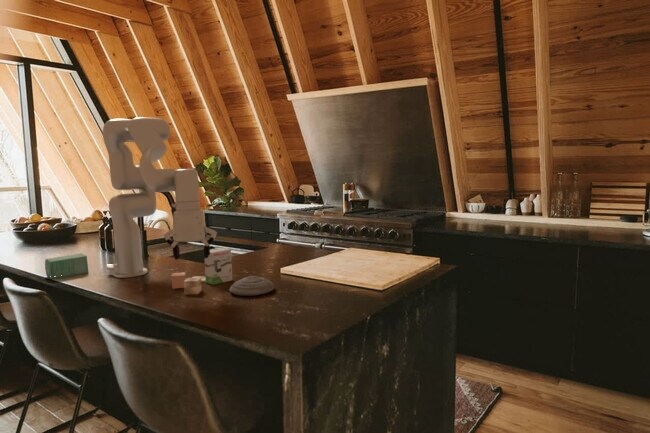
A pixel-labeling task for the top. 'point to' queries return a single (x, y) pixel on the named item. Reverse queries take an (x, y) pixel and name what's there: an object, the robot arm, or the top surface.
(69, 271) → the box
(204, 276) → the tile
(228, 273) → the ink box
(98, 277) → the top surface
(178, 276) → the terracotta block
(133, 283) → the top surface
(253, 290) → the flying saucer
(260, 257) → the top surface
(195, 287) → the maple block
